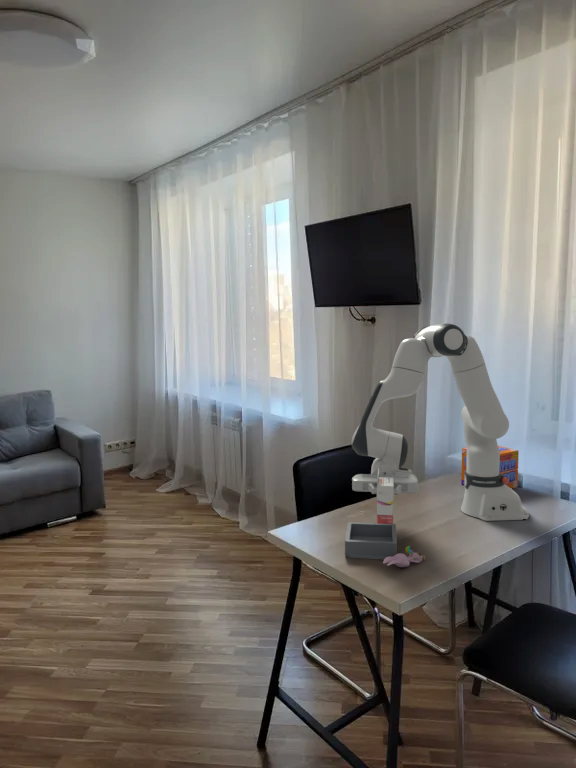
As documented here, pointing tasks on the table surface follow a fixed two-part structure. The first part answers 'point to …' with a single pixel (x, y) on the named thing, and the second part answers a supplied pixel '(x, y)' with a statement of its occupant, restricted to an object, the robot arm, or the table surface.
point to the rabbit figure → (404, 558)
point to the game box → (506, 465)
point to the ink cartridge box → (385, 500)
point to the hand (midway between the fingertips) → (385, 491)
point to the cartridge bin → (370, 540)
